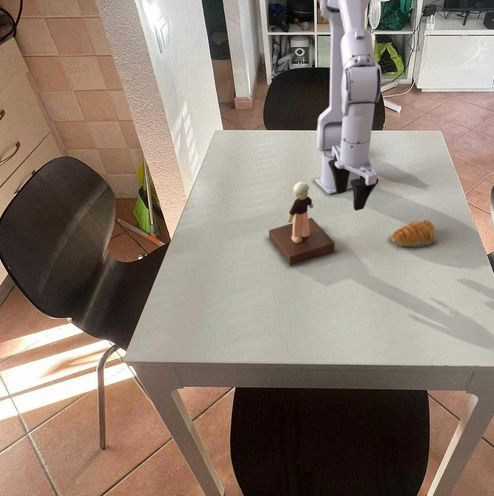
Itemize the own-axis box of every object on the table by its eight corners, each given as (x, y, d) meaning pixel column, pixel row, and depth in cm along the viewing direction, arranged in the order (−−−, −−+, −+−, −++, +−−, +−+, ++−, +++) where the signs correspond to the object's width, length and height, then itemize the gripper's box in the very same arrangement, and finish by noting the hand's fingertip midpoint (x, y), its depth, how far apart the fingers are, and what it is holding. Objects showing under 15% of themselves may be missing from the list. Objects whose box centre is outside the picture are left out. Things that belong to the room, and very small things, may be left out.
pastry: (399, 252, 94) (402, 238, 92) (385, 236, 99) (388, 221, 96) (436, 244, 96) (441, 229, 93) (421, 228, 100) (425, 213, 98)
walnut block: (311, 226, 102) (311, 217, 100) (334, 252, 95) (334, 242, 93) (269, 239, 99) (268, 230, 97) (289, 266, 92) (289, 256, 90)
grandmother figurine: (300, 247, 92) (300, 193, 83) (285, 242, 94) (283, 188, 84) (317, 229, 96) (319, 176, 87) (302, 224, 98) (303, 171, 88)
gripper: (320, 127, 87) (318, 189, 97) (357, 157, 78) (351, 221, 89) (350, 120, 89) (345, 182, 99) (389, 149, 80) (379, 213, 91)
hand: (349, 200), depth 94 cm, fingers open, 7 cm apart
